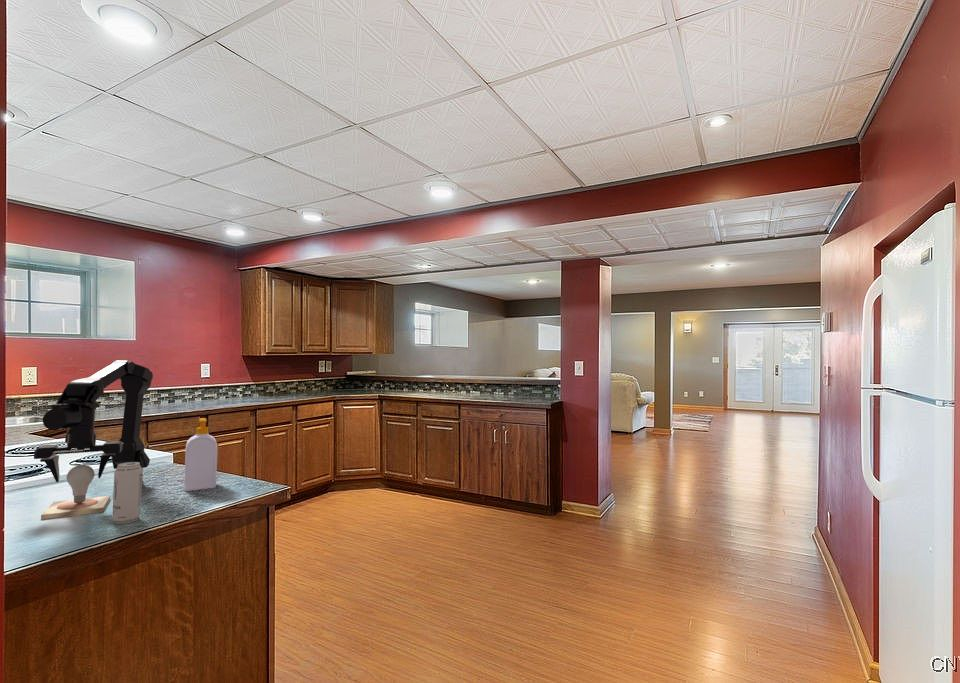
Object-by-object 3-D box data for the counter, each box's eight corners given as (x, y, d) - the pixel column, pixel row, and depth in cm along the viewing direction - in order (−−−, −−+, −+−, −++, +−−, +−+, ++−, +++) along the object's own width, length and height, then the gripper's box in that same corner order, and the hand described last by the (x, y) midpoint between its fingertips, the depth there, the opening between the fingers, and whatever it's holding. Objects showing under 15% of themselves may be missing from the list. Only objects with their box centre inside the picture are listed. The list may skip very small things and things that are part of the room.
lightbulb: (98, 502, 136) (100, 463, 137) (74, 508, 130) (76, 468, 131) (84, 499, 138) (85, 462, 139) (59, 505, 132) (61, 466, 133)
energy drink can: (110, 520, 125) (113, 463, 126) (138, 515, 130) (140, 460, 130) (113, 526, 121) (116, 467, 122) (142, 521, 125) (144, 464, 126)
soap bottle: (214, 483, 163) (217, 416, 164) (216, 487, 158) (218, 419, 158) (184, 486, 159) (186, 418, 159) (184, 491, 153) (187, 420, 154)
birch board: (110, 499, 143) (110, 495, 143) (102, 511, 132) (103, 507, 132) (53, 505, 136) (53, 501, 136) (40, 519, 125) (41, 514, 125)
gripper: (125, 420, 147) (123, 470, 146) (46, 423, 137) (43, 477, 136) (120, 424, 137) (118, 478, 136) (34, 428, 127) (31, 486, 127)
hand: (78, 480), depth 134 cm, fingers open, 9 cm apart
